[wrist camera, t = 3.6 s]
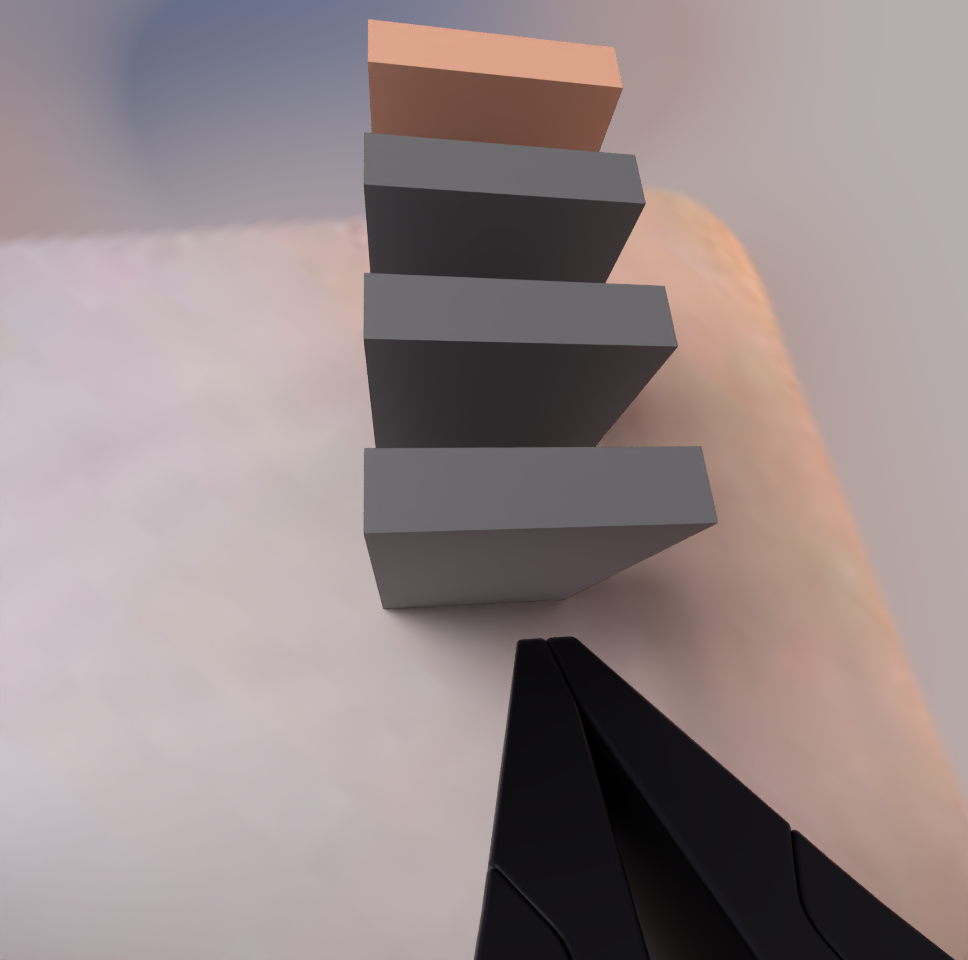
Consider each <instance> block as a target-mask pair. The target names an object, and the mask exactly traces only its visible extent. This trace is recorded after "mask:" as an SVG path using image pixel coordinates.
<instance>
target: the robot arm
mask: <svg viewBox="0 0 968 960" xmlns="http://www.w3.org/2000/svg"><path fill="white" fill-rule="evenodd" d="M474 960H955V959H953V958H952V957H951V956H949V955H948V954H947V953H945V952H944V951H943V950H942V949H940V948H939V947H938V946H937V945H935V944H934V943H933V942H931V941H930V940H929V939H928V938H926V937H925V936H924V935H923V934H921V933H920V932H919V931H917V930H916V929H915V928H914V927H912V926H911V925H910V924H909V923H907V922H906V921H905V920H903V919H902V918H901V917H900V916H898V915H897V914H896V913H895V912H893V911H892V910H891V909H890V908H888V907H887V906H886V905H884V904H883V903H882V902H881V901H880V900H878V899H877V898H876V897H875V896H874V895H872V894H871V893H870V892H869V891H868V890H866V889H865V888H864V887H863V886H862V885H861V884H859V883H858V882H857V881H856V880H855V879H853V878H852V877H851V876H850V875H849V874H847V873H846V872H845V871H844V870H843V869H841V868H840V867H839V866H838V865H837V864H836V863H834V862H833V861H832V860H831V859H830V858H828V857H827V856H826V855H825V854H824V853H823V852H822V851H820V850H819V849H818V848H817V847H816V846H815V845H813V844H812V843H811V842H810V841H809V840H808V839H807V838H805V837H804V836H803V835H802V834H801V833H800V832H799V831H797V830H792V831H791V827H790V825H789V823H788V822H787V821H786V820H784V819H783V818H782V817H781V816H780V815H779V814H778V813H776V812H775V811H774V810H773V809H772V808H771V807H769V806H768V805H767V804H766V803H765V802H764V801H763V800H761V799H760V798H759V797H758V796H757V795H756V794H755V793H753V792H752V791H751V790H750V789H749V788H748V787H747V786H745V785H744V784H743V783H742V782H741V781H740V780H739V779H737V778H736V777H735V776H734V775H733V774H732V773H730V772H729V771H728V770H727V769H726V768H725V767H724V766H722V765H721V764H720V763H719V762H718V761H717V760H716V759H714V758H713V757H712V756H711V755H710V754H709V753H708V752H706V751H705V750H704V749H703V748H702V747H701V746H699V745H698V744H697V743H696V742H695V741H694V740H693V739H691V738H690V737H689V736H688V735H687V734H686V733H685V732H683V731H682V730H681V729H680V728H679V727H678V726H677V725H675V724H674V723H673V722H672V721H671V720H670V719H669V718H667V717H666V716H665V715H664V714H663V713H662V712H660V711H659V710H658V709H657V708H656V707H655V706H654V705H652V704H651V703H650V702H649V701H648V700H647V699H646V698H644V697H643V696H642V695H641V694H640V693H639V692H638V691H636V690H635V689H634V688H633V687H632V686H631V685H629V684H628V683H627V682H626V681H625V680H624V679H623V678H621V677H620V676H619V675H618V674H617V673H616V672H615V671H613V670H612V669H611V668H610V667H609V666H608V665H607V664H605V663H604V662H603V661H602V660H601V659H600V658H598V657H597V656H596V655H595V654H594V653H593V652H592V651H590V650H589V649H588V648H587V647H586V646H585V645H584V644H582V643H581V642H580V641H579V640H578V639H576V638H574V637H554V638H549V639H547V640H544V639H542V638H538V639H522V640H519V641H518V642H517V646H516V654H515V661H514V669H513V677H512V684H511V692H510V700H509V708H508V715H507V723H506V731H505V738H504V746H503V754H502V762H501V769H500V777H499V785H498V792H497V800H496V808H495V815H494V823H493V831H492V839H491V846H490V854H489V862H488V871H487V874H486V882H485V890H484V897H483V905H482V912H481V918H480V924H479V931H478V937H477V943H476V949H475V955H474Z"/></svg>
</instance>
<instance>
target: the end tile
mask: <svg viewBox="0 0 968 960" xmlns="http://www.w3.org/2000/svg"><path fill="white" fill-rule="evenodd" d="M368 71H369V88H370V107H371V126H372V133H376V134H388V135H400V136H412V137H424V138H436V139H448V140H460V141H472V142H484V143H496V144H508V145H520V146H532V147H544V148H556V149H568V150H580V151H592V152H599V151H600V148H601V145H602V142H603V140H604V137H605V134H606V132H607V129H608V126H609V124H610V121H611V118H612V116H613V113H614V110H615V108H616V105H617V102H618V99H619V97H620V94H621V92H622V89H623V86H622V81H621V77H620V73H619V68H618V63H617V59H616V54H615V50H614V48H613V47H604V46H595V45H587V44H578V43H569V42H560V41H552V40H543V39H535V38H526V37H517V36H508V35H499V34H491V33H482V32H474V31H465V30H456V29H448V28H439V27H430V26H422V25H412V24H404V23H396V22H387V21H378V20H368Z"/></svg>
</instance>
